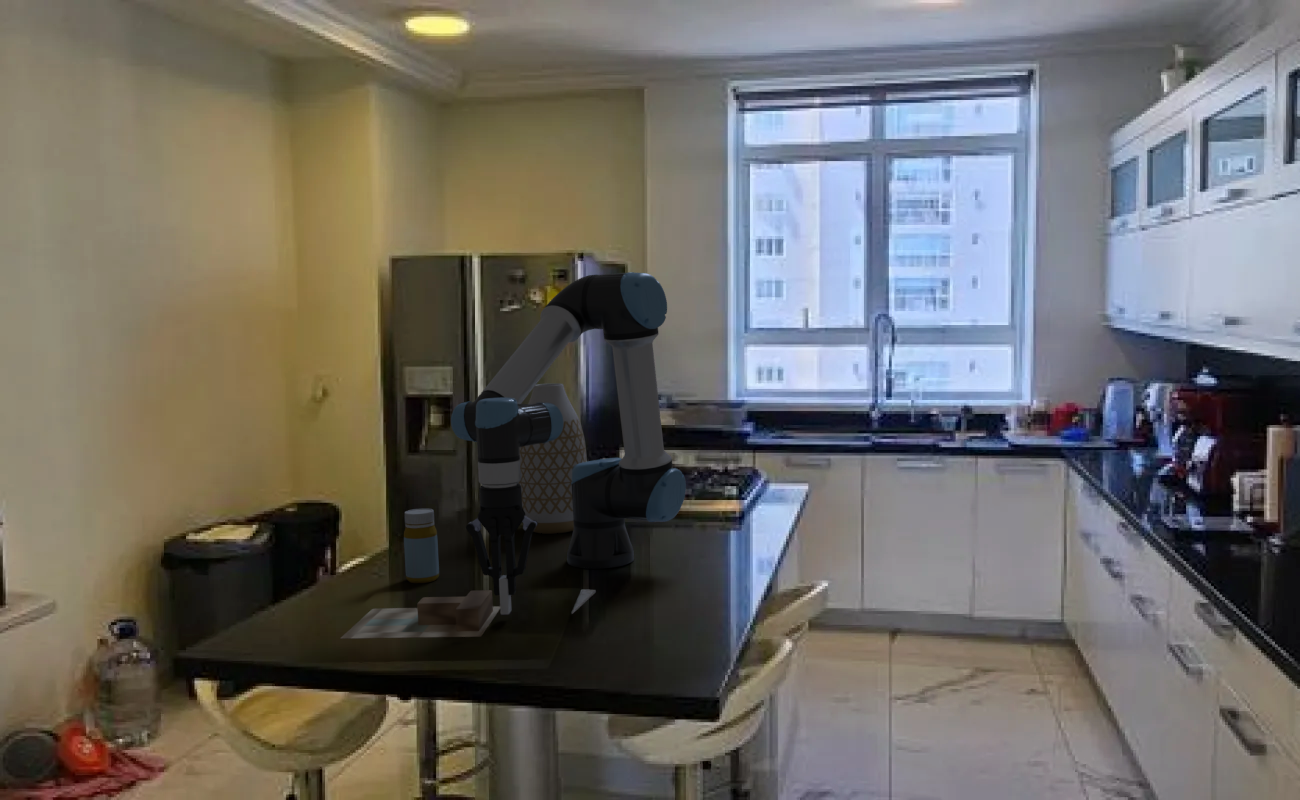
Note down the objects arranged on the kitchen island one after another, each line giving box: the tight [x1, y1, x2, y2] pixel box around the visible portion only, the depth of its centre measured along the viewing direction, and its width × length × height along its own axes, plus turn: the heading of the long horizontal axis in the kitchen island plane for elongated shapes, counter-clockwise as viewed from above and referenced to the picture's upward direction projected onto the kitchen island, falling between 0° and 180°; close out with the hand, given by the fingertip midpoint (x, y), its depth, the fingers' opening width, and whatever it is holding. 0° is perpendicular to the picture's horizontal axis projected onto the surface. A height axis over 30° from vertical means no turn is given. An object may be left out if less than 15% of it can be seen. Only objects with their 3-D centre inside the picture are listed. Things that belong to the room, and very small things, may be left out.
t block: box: [416, 589, 494, 631], centre depth 190 cm, size 12×12×4 cm
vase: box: [518, 383, 588, 535], centre depth 272 cm, size 19×18×38 cm
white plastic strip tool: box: [570, 588, 597, 615], centre depth 205 cm, size 5×15×1 cm, turn 165°
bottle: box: [403, 508, 440, 584], centre depth 225 cm, size 7×7×15 cm
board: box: [340, 605, 500, 640], centre depth 191 cm, size 25×18×1 cm
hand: (506, 612), depth 190 cm, fingers closed
